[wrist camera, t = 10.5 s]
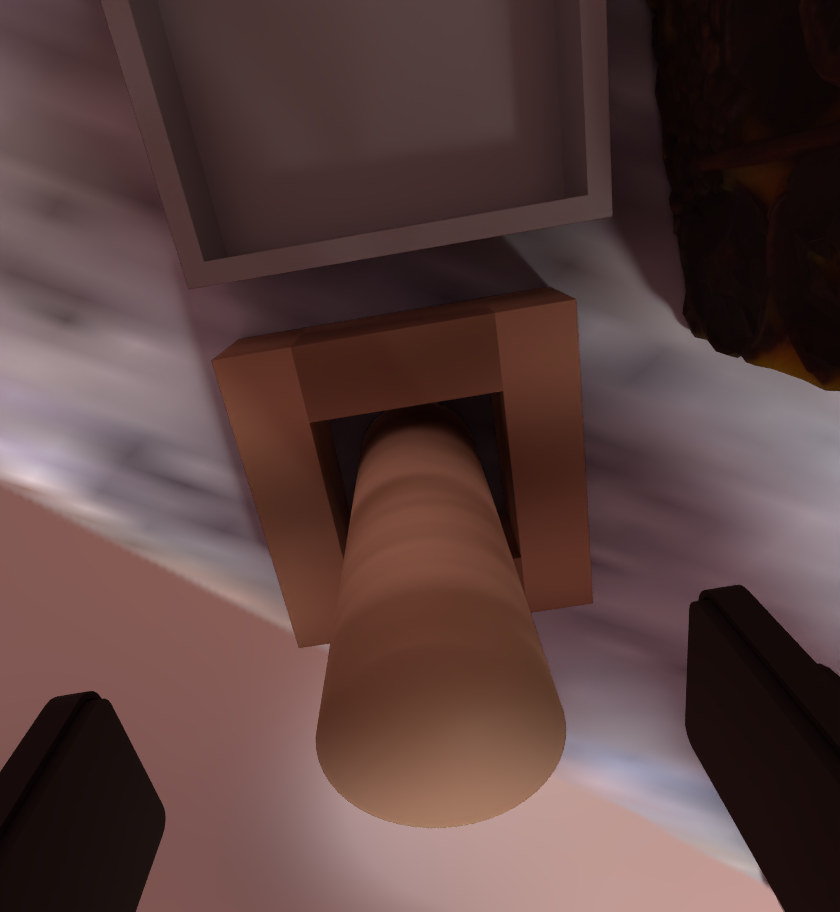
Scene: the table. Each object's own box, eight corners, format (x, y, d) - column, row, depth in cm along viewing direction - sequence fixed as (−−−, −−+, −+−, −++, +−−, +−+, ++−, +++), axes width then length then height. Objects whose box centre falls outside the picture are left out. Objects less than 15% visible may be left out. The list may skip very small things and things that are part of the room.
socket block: (568, 554, 22) (592, 603, 19) (311, 594, 22) (298, 647, 20) (549, 286, 18) (576, 298, 15) (239, 339, 19) (211, 360, 16)
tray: (580, 216, 18) (612, 216, 15) (219, 279, 18) (188, 289, 15) (555, -309, 13) (593, -436, 11) (79, -214, 14) (4, -315, 11)
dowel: (481, 497, 21) (572, 810, 10) (372, 514, 21) (344, 842, 10) (467, 392, 20) (557, 624, 8) (350, 411, 20) (288, 665, 9)
